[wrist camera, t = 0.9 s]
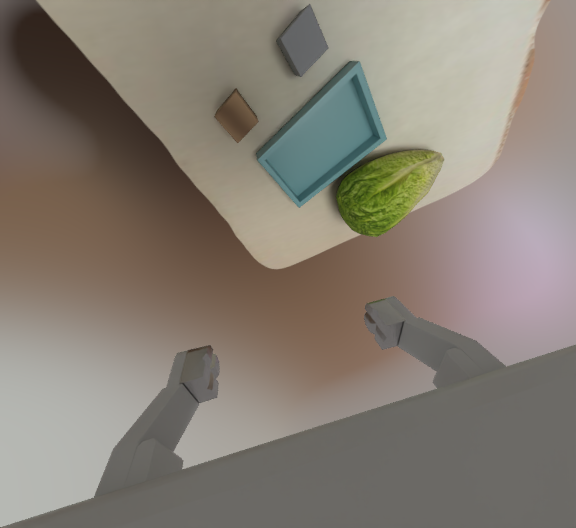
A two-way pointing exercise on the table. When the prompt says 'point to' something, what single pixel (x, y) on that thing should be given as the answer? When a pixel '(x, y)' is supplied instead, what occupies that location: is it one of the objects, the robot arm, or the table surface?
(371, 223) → the lettuce
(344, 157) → the teal tray
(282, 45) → the charcoal block
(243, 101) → the walnut block
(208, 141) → the table surface
